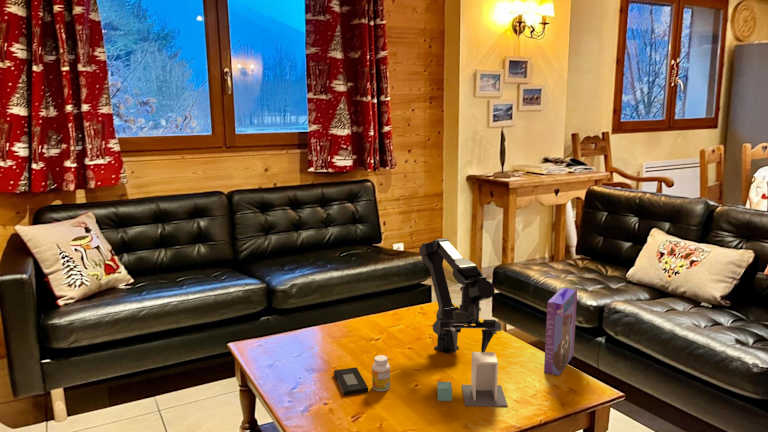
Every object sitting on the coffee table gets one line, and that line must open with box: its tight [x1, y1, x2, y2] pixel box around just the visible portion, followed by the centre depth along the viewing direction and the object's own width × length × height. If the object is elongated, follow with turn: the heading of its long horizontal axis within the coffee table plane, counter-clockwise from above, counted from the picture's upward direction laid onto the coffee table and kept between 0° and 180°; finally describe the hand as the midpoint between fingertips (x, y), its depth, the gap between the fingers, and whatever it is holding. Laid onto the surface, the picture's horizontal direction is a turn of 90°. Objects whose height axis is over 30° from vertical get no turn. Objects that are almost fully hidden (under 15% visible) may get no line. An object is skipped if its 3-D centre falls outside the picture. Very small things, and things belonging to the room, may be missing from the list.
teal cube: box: [436, 381, 453, 402], centre depth 173 cm, size 4×4×4 cm
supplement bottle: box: [371, 354, 391, 392], centre depth 178 cm, size 5×5×10 cm
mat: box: [461, 384, 508, 408], centre depth 174 cm, size 12×12×1 cm
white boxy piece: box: [470, 351, 499, 401], centre depth 172 cm, size 7×7×12 cm
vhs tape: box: [333, 366, 369, 397], centre depth 182 cm, size 8×14×2 cm, turn 17°
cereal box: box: [543, 286, 578, 377], centre depth 192 cm, size 17×5×24 cm, turn 148°
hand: (468, 353), depth 181 cm, fingers open, 9 cm apart
